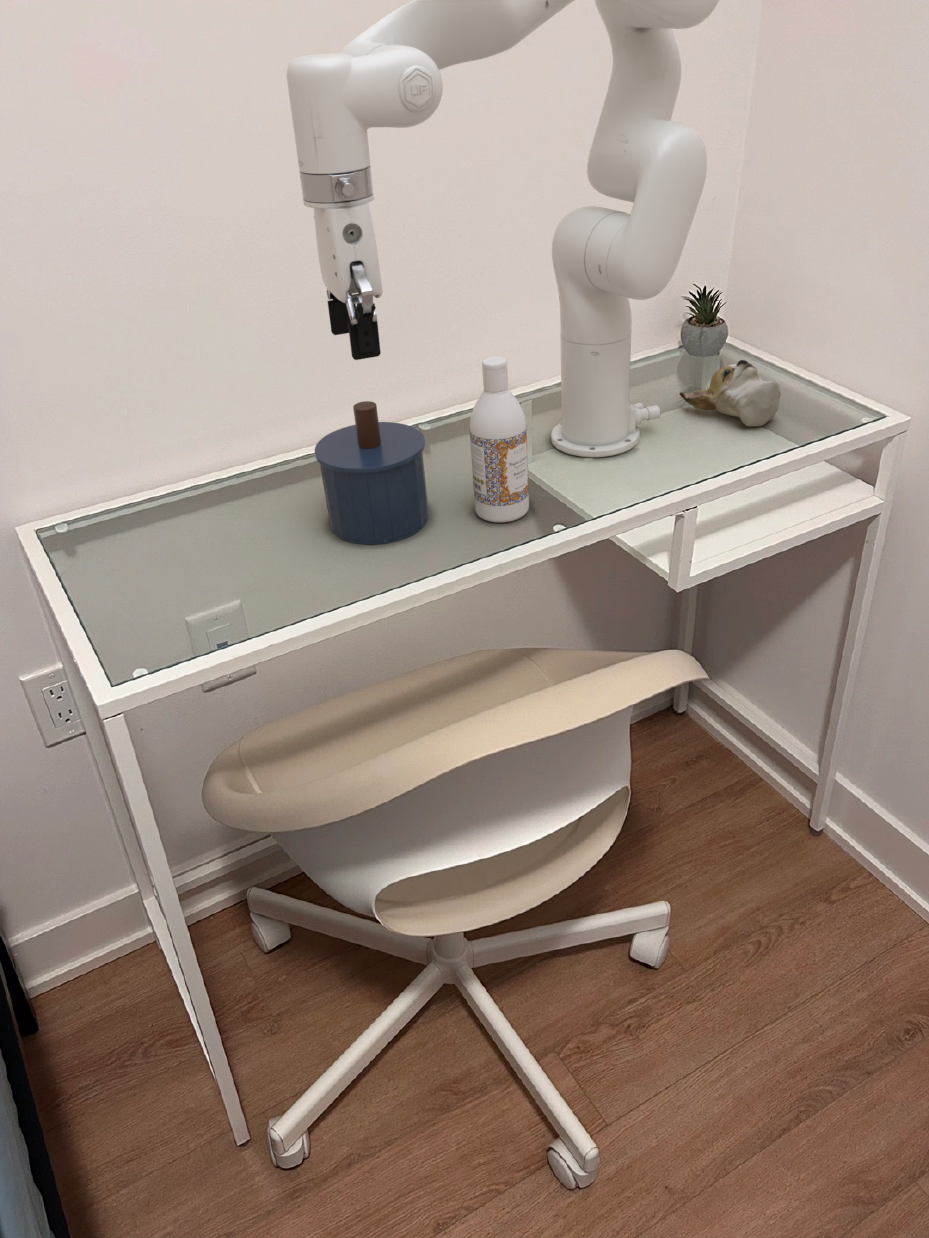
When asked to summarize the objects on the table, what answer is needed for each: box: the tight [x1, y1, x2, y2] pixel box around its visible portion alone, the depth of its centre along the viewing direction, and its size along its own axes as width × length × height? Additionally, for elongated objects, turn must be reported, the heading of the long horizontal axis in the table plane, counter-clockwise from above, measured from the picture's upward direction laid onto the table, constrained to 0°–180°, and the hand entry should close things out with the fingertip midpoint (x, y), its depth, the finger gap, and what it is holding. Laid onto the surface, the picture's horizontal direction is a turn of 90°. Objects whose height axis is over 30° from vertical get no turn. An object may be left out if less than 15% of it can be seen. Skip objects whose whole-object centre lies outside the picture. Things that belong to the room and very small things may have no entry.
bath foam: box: [469, 355, 530, 523], centre depth 123 cm, size 7×7×20 cm
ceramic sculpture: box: [679, 359, 782, 427], centre depth 147 cm, size 11×9×15 cm
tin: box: [319, 450, 429, 546], centre depth 126 cm, size 13×13×10 cm
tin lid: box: [314, 400, 426, 473], centre depth 122 cm, size 14×14×6 cm
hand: (355, 344), depth 116 cm, fingers open, 9 cm apart
